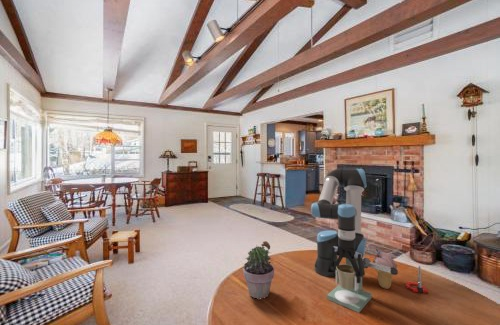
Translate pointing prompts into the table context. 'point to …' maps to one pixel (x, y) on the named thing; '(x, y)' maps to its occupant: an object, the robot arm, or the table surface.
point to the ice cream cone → (384, 276)
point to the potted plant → (259, 271)
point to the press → (350, 295)
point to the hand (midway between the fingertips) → (346, 285)
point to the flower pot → (346, 276)
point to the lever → (379, 266)
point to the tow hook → (417, 284)
